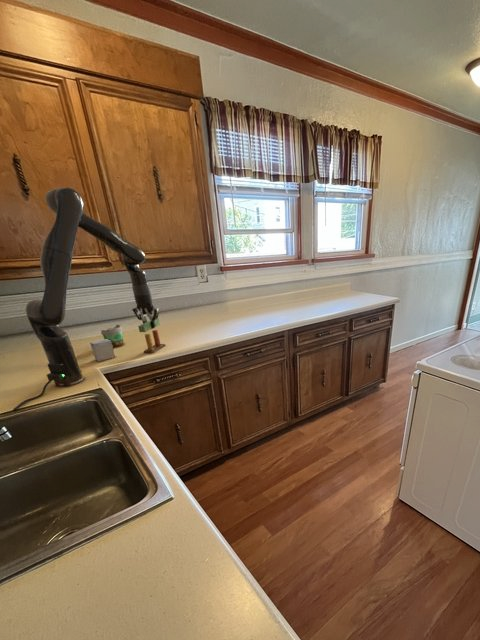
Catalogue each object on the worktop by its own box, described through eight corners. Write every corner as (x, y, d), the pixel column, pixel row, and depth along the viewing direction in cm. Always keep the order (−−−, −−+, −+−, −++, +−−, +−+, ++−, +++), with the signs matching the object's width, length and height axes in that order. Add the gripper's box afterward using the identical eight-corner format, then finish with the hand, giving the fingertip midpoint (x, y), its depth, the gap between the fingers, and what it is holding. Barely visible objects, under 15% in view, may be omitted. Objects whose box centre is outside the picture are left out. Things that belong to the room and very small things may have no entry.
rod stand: (165, 345, 177) (161, 329, 172) (153, 353, 166) (149, 336, 162) (156, 345, 177) (153, 329, 173) (144, 352, 167) (140, 335, 163)
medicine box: (111, 355, 164) (106, 338, 160) (115, 357, 161) (110, 340, 157) (95, 359, 159) (89, 342, 155) (99, 361, 156) (93, 344, 152)
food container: (116, 349, 172) (110, 331, 167) (105, 349, 173) (100, 330, 168) (131, 342, 182) (126, 324, 178) (121, 341, 183) (116, 324, 179)
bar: (160, 324, 172) (158, 319, 171) (145, 332, 160) (143, 326, 159) (154, 324, 173) (153, 318, 171) (139, 332, 161) (138, 326, 159)
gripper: (124, 294, 156) (133, 329, 164) (151, 294, 154) (159, 330, 162) (133, 291, 163) (141, 325, 171) (159, 292, 161) (166, 326, 169)
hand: (150, 328), depth 166 cm, fingers closed on bar, 3 cm apart
